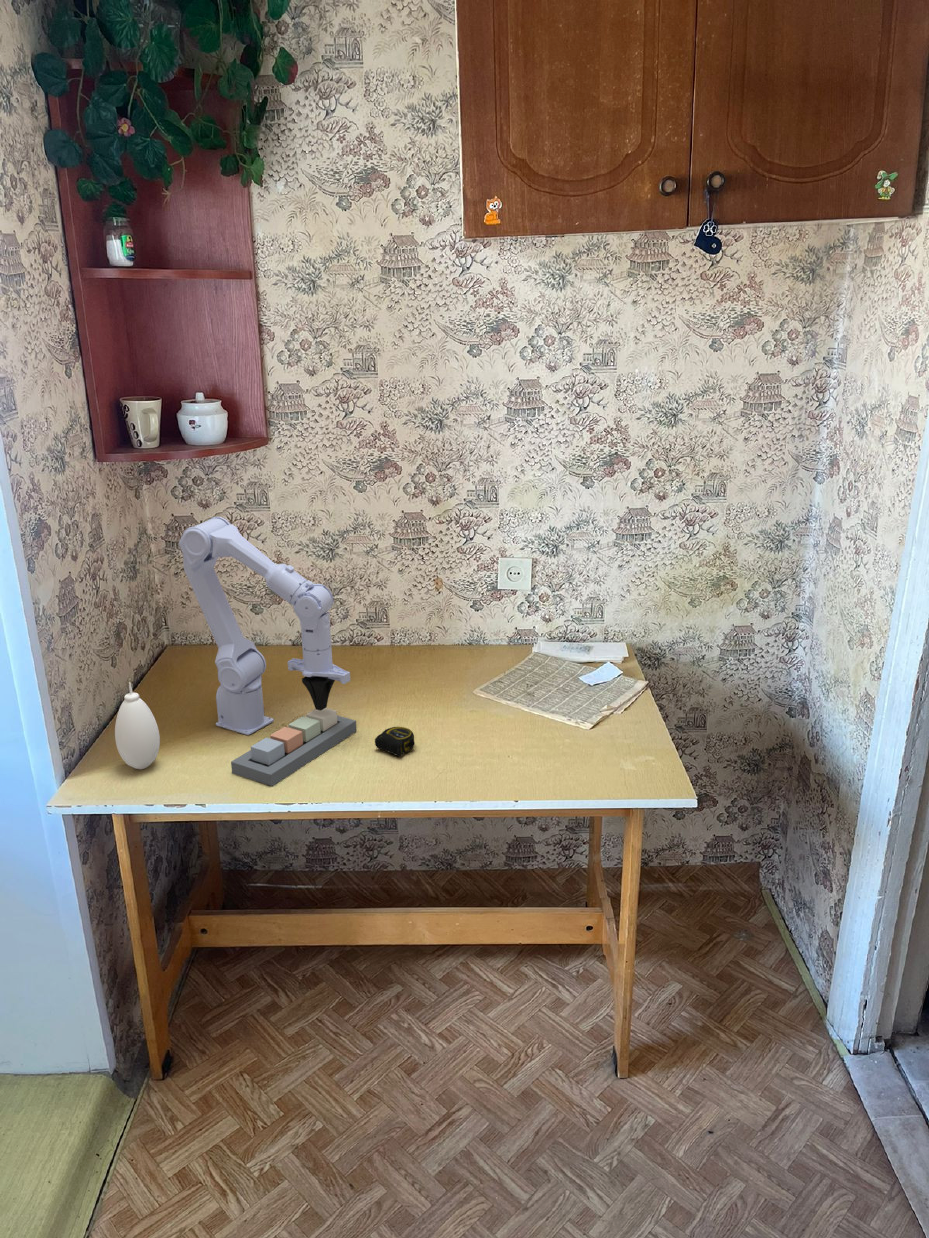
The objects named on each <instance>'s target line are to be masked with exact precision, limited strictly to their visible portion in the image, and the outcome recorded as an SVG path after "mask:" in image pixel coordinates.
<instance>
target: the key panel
mask: <svg viewBox="0 0 929 1238" xmlns="http://www.w3.org/2000/svg"><path fill="white" fill-rule="evenodd" d="M357 730H358V729H357V720H356V719H352V718H348V717H345V716H341V715H338V714H337V724H335V725H333V726H332V727H330V728H329V729H327V730H325V731H320V732H321V734H319V735H317V736H316V737H314V738H313V739H311V740H309V741H308V742H304V741H303V745H301V746H300V747H298V748H296V749H295V750H293V751H292V752H290V753H285V756H284V757H282V758H280V759H279V760H277V761H276V762H274V763H272V764H271V765H266V764H263V763H260V762H257V761H254V760H252V756H251V749H250V750H248V751H247V752H244V753H243V754H242V755H240V756H238V757H236V758H234V759H233V760H231V761H230V765H231V766H230V767H231V773H232V774H233V775H236V776H240V777H241V778H245V779H248V780H252V781H255V782H257V783H259V784H262V785H263V784H264V785H266V786H268V787H271V788H272V787H274V786H275V785H277V784H278V783H280V782H281V781H283V780H285V779H286V778H287V777H289V776H291V775H292V774H295V772H296V771H298V770H300V769H302V768H303V767H304V766H306V765H307V764H309V763H311V762H312V761H314V760H315V759H316V758H318V757H320V756H321V755H323V754H325V753H326V752H328V751H329V750H330V749H332V748H333V747H335V746H337V745H338V744H340V743H342V742H343V741H344V740H346V739H347V738H349V737H350V736H352V735H353V734H355V733H356V732H358V731H357Z"/></svg>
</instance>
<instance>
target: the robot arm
mask: <svg viewBox="0 0 929 1238" xmlns="http://www.w3.org/2000/svg"><path fill="white" fill-rule="evenodd" d="M178 546H179V548H180V550H181V552H182V561H183V562H182V563H183V564H182V565H183V566H182V567H183V570H184V573H185V575H186V578H187V580H188V582H189V584H190V586H191V588H192V589H191V590H192V591H193V594H194V595H195V598H196V600H197V602H198V605H199V607H200V611H201V612H202V614H203V616H204V618H205V620H206V623H207V625H208V627H209V630H210V631H211V634H212V637H213V639H214V641H215V643H216V645H217V648H218V650H217V653H216V657H215V660H214V664H215V666H216V668H217V679H218V681H219V684H220V685H219V686H218V688H217V690H216V695H215V702H216V710H217V721H216V723H215V726H217V727H220V728H223V729H226V730H229V731H233V732H236V733H239V734H243V735H247V736H249V735H252V734H254V733H255V732H258V730H260V729H262V728H264V727H266V726H268V725H269V724H271V723H273V722H274V718H272V717H269V716H266V715H265V709H264V699H263V698H264V694H263V686H262V680H263V679H262V675H263V674H264V673H265V671H266V669H267V662H266V661H267V660H266V658H265V657H264V655H263V654H262V653H261V652H260V651H259V650H258V649H257V647H256V644H255V642H253V641H252V640H249V639H248V638H245V637H244V635H243V632H242V630H241V628H240V625H239V623H238V622H237V619H236V617H235V614H234V611H233V609H232V607H231V605H230V603H229V601H228V598H227V596H226V593H225V591H224V589H223V587H222V585H221V582H220V580H219V577H218V575H217V572H216V570H215V565H216V563H217V561H218V559H219V558H226V557H227V558H228V557H229V558H230V557H231V558H233V559H235V560H236V561H238V562H239V563H240V564H243V565H244V566H245V567H247V568H249V569H250V570H252V571H254V572H255V573H256V574H258V575H259V576H261V577H262V578H264V579H265V583H266V584H265V585H266V587H267V588H268V589H269V590H271V591H272V592H273V593H275V594H276V595H277V596H279V597H280V598H282V599H283V600H284V601H286V602H287V603H288V604H290V605H291V606H292V607H293V608H292V609H293V612H294V613H295V615H296V617H297V618H298V619H299V626H300V630H301V631H300V633H301V645H302V646H301V647H302V649H301V650H302V659H299V658H294V657H293V658H291V659H290V660H288V661H287V669H288V671H291V672H292V671H297V672H301V674H302V676H303V677H302V678H301V682H302V684H303V685H304V686H305V688H306V690H307V691H308V693H309V694H310V697H311V698H310V699H311V700H312V703H313V705H314V709H317V710H320V711H321V710H323V709H324V708H328V701H329V696H330V693H331V690H332V687H333V685H334V683H335V681H337V682H340V684H343V685H346V684H347V683H350V682H351V672H350V671H347V670H345V669H343V668H341V667H339V666H338V665H336V664H334V663H333V654H332V653H333V650H332V636H331V633H332V632H331V621H330V612H329V611H330V610H331V608H332V606H333V605H334V596H333V594H332V591H331V590H330V589H329V588H328V587H327V586H326V585H325V584H321V583H314V582H313V581H311V580H308V579H306V577H303V576H302V575H301V574H300V573H298V572H297V571H296V570H295V567H293V565H291V564H288V565H287V564H286V563H280V564H279V563H275V562H274V561H272V560H271V559H270V558H269V557H268V556H267V555H266V554H264V553H263V552H262V551H260V550H259V549H258V548H257V547H255V546H254V545H253V544H252V543H251V542H250V541H249V540H248V539H246V538H245V537H243V535H242V534H241V533H240V531H239V529H238V527H237V526H235V525H234V524H232V523H230V522H229V520H227V519H226V518H223V517H221V516H214V517H211V518H209V519H208V520H206V521H204V522H201V523H199V524H196V525H194V526H189V527H188V528H186V529H185V531H184V532H183V533H182V535H181V538H180V540H179V542H178Z"/></svg>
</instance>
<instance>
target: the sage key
mask: <svg viewBox="0 0 929 1238" xmlns="http://www.w3.org/2000/svg"><path fill="white" fill-rule="evenodd" d="M287 727H288V728H292V729H295V730H299V731H302V736H303V741H304V742H308V741H309V740H311V739H313V738H314V737H316V736H317V735H319V734H321V732H320V721H318V720H315V719H311V718H308V717H306V716H305V715H303V716H300V717H298V718H297V719H295V720H294V721H292V722H290V723H289V724H288V725H287Z"/></svg>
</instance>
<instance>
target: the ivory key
mask: <svg viewBox="0 0 929 1238" xmlns="http://www.w3.org/2000/svg"><path fill="white" fill-rule="evenodd" d="M337 711H338V710H334V709H331V708H328V707H326V708H324V709H323V710H321V711H320V710H317V709H316V708H314V709H312V710H311V711H309V712H308V713H306V714H305V715H306V716H305V717H308V718H311V719H315V720H318V721H320V731H325V730H327V729H329V728H330V727H332V726H333V725H335V724H337V715H338V714H337V713H338V712H337Z"/></svg>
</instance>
